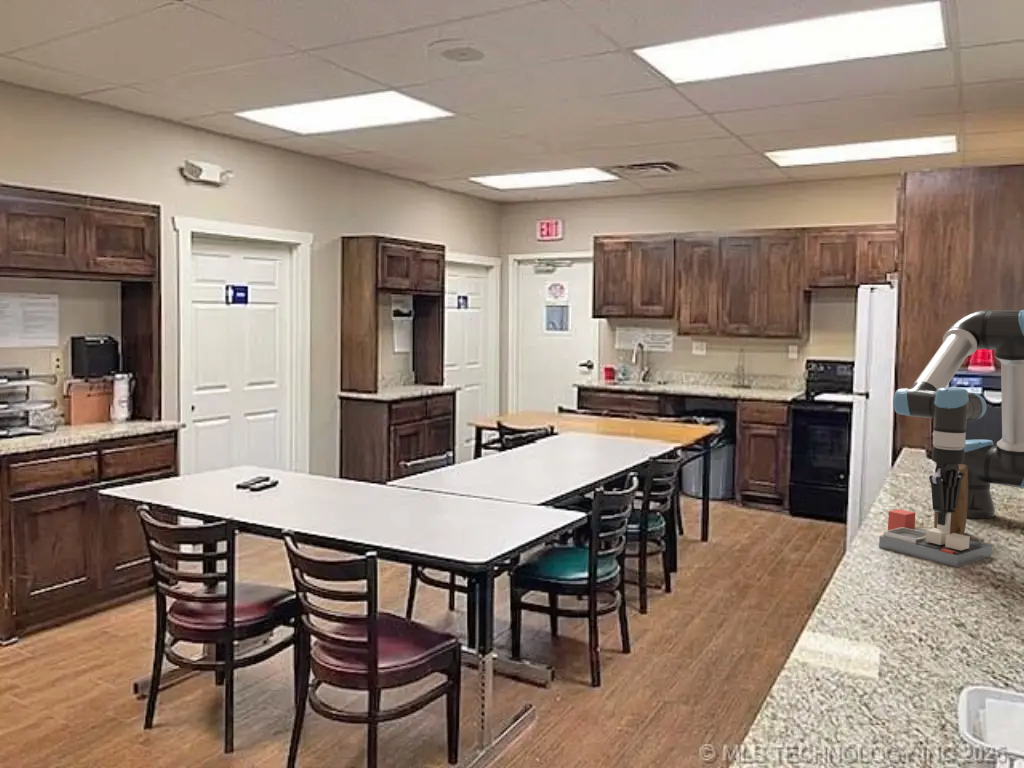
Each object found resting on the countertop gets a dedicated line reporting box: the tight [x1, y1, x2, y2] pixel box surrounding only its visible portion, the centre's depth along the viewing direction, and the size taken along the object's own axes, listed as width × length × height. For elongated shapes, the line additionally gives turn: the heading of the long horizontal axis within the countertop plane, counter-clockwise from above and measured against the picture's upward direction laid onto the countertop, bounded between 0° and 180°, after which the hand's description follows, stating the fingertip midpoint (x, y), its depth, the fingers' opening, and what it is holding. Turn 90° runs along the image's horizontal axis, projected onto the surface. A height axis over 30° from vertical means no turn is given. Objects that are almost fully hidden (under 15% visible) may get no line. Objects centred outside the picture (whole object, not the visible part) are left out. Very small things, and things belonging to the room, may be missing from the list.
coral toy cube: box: [887, 508, 916, 531], centre depth 239 cm, size 5×5×7 cm
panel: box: [878, 526, 993, 568], centre depth 224 cm, size 17×21×4 cm
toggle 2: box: [945, 533, 971, 550], centre depth 216 cm, size 4×4×3 cm
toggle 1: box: [925, 527, 949, 545], centre depth 221 cm, size 4×4×3 cm
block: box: [933, 464, 968, 535], centre depth 242 cm, size 11×8×20 cm
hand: (943, 536), depth 222 cm, fingers closed
